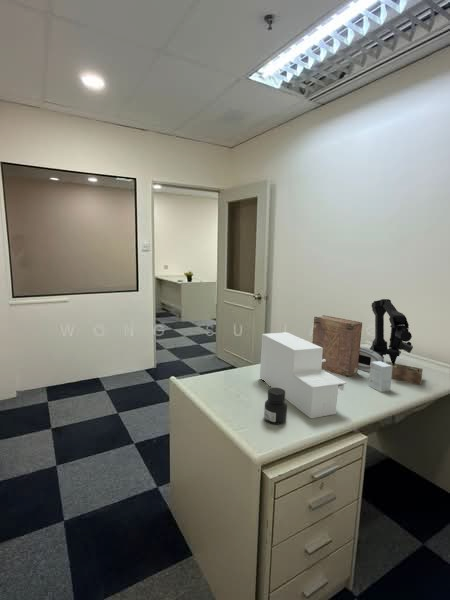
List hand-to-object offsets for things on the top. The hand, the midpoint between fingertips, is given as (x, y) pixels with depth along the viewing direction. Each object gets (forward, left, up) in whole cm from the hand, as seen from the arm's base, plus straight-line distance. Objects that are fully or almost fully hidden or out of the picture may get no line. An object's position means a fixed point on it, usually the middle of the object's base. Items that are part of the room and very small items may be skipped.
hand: (393, 363), depth 180 cm
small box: (-3, -24, -7) cm, 25 cm away
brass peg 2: (+10, 0, -7) cm, 12 cm away
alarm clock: (-17, +2, -7) cm, 19 cm away
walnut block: (+5, 0, -7) cm, 9 cm away
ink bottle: (-32, -85, -7) cm, 91 cm away
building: (-34, -56, -7) cm, 66 cm away
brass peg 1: (0, 0, -6) cm, 6 cm away
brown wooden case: (-30, -10, -7) cm, 32 cm away
